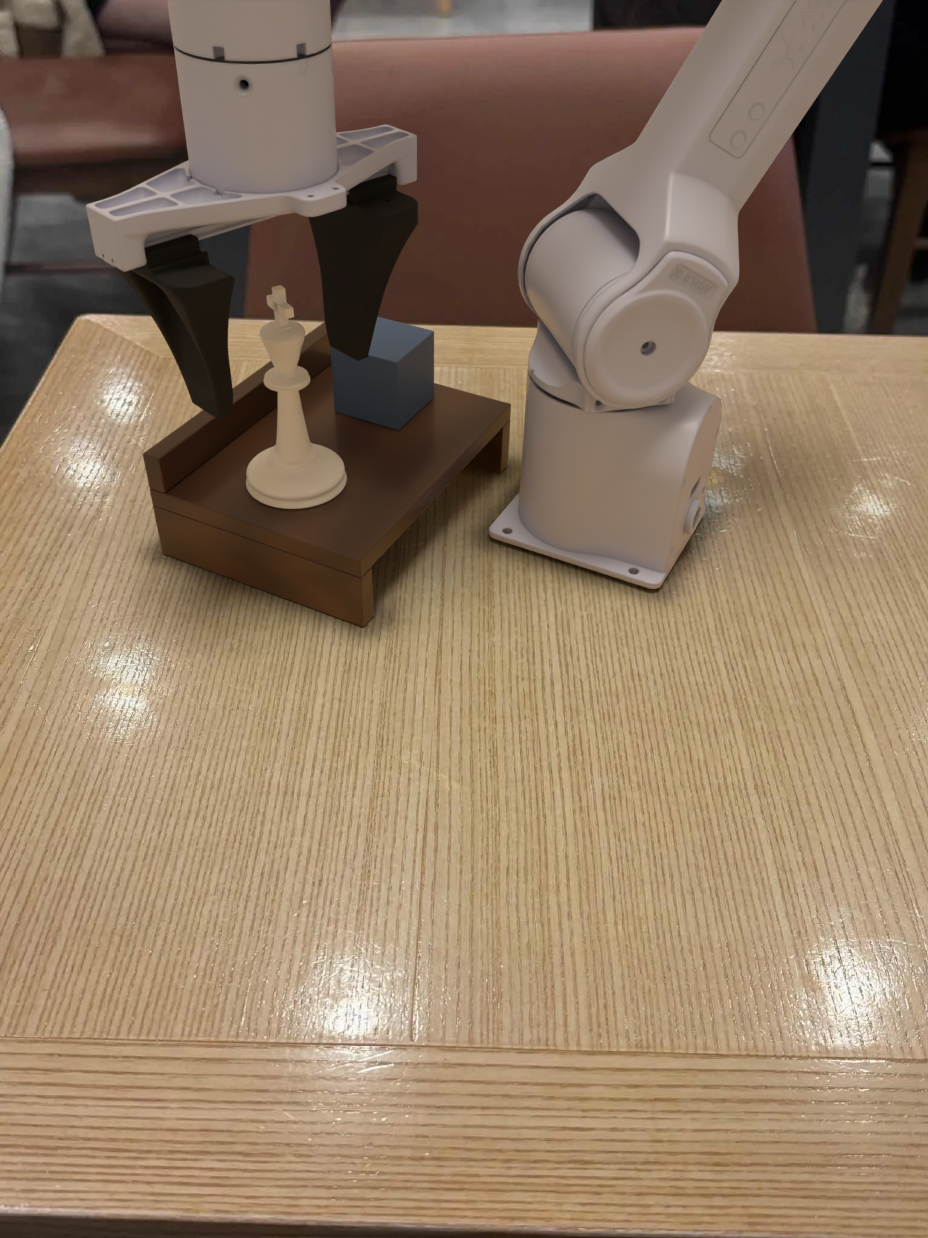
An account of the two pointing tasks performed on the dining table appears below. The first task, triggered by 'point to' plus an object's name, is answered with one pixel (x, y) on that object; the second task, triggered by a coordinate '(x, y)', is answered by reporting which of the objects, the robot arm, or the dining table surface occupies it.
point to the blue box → (386, 375)
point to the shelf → (330, 532)
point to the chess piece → (291, 426)
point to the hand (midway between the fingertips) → (283, 378)
